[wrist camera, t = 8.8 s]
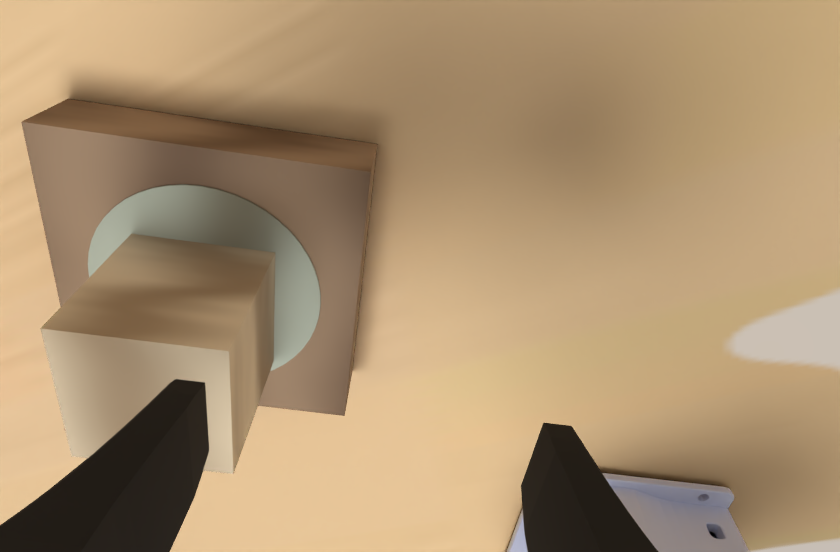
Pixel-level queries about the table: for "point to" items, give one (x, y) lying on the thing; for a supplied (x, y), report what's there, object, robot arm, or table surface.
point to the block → (165, 340)
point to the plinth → (218, 218)
